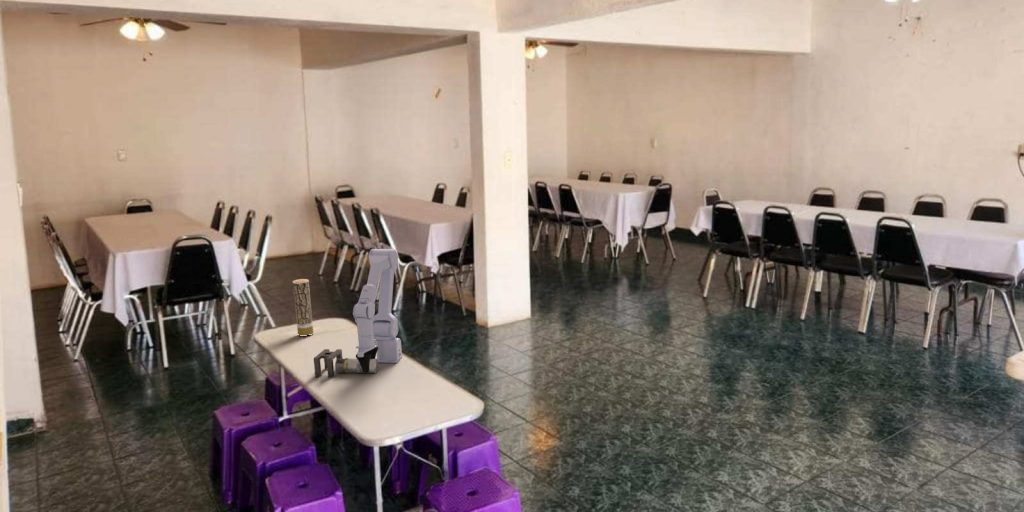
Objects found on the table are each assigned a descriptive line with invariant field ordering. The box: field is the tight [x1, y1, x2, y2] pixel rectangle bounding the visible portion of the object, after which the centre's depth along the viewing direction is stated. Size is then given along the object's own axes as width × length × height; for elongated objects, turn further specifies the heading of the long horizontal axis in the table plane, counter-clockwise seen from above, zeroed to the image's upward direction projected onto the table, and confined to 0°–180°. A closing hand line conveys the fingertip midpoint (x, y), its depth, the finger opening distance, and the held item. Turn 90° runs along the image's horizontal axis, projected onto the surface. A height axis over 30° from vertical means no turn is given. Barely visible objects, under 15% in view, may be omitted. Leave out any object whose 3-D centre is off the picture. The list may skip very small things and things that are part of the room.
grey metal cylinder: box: [334, 357, 379, 374], centre depth 268 cm, size 15×6×5 cm, turn 82°
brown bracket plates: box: [313, 348, 344, 379], centre depth 270 cm, size 7×11×7 cm, turn 172°
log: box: [292, 278, 314, 336], centre depth 318 cm, size 7×7×25 cm
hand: (368, 369), depth 268 cm, fingers closed on grey metal cylinder, 5 cm apart
